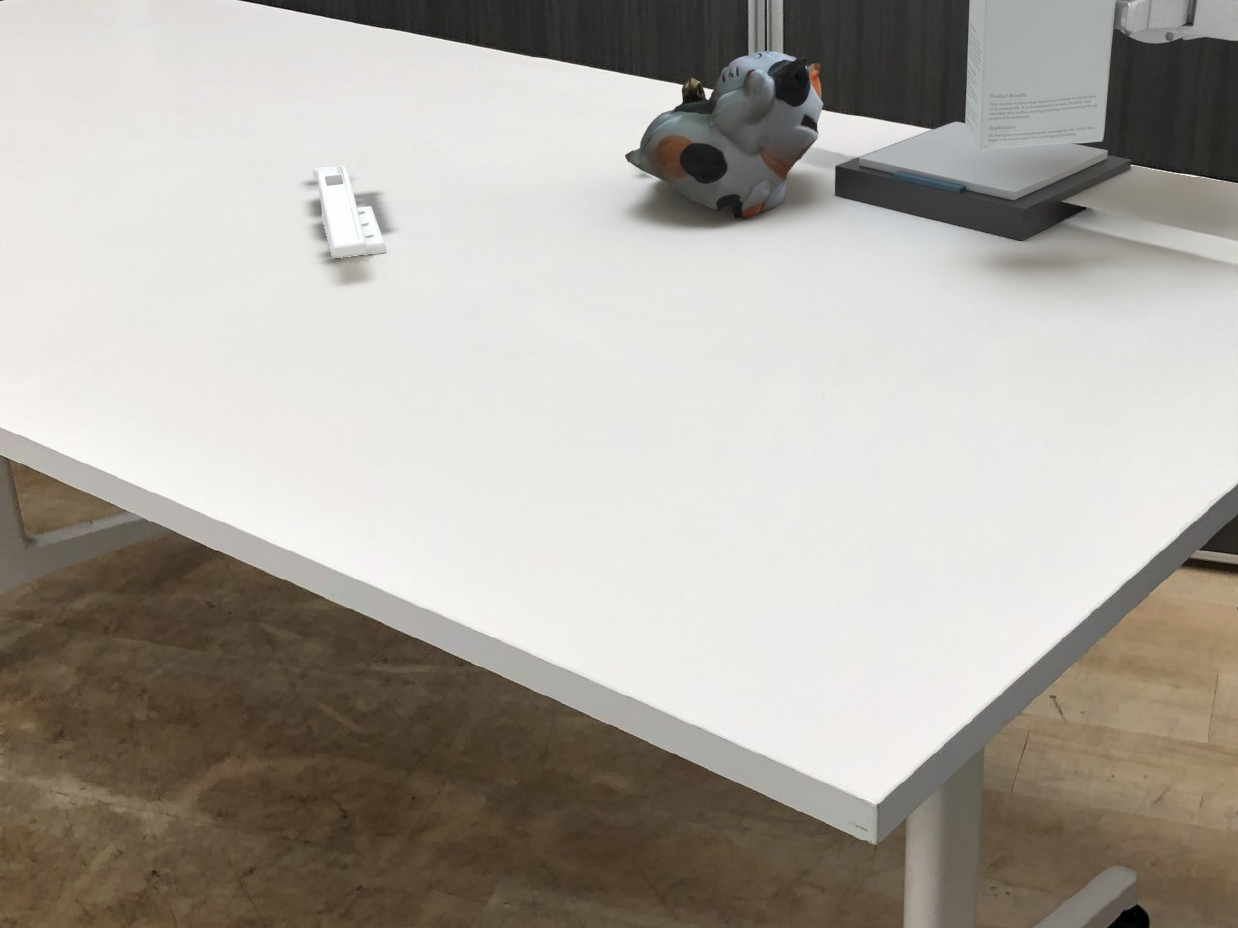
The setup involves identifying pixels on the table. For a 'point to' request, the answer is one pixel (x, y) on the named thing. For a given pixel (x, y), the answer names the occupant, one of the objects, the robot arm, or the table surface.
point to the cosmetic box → (1038, 71)
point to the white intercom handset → (346, 216)
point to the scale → (977, 180)
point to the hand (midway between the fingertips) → (1060, 9)
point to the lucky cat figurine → (737, 134)
